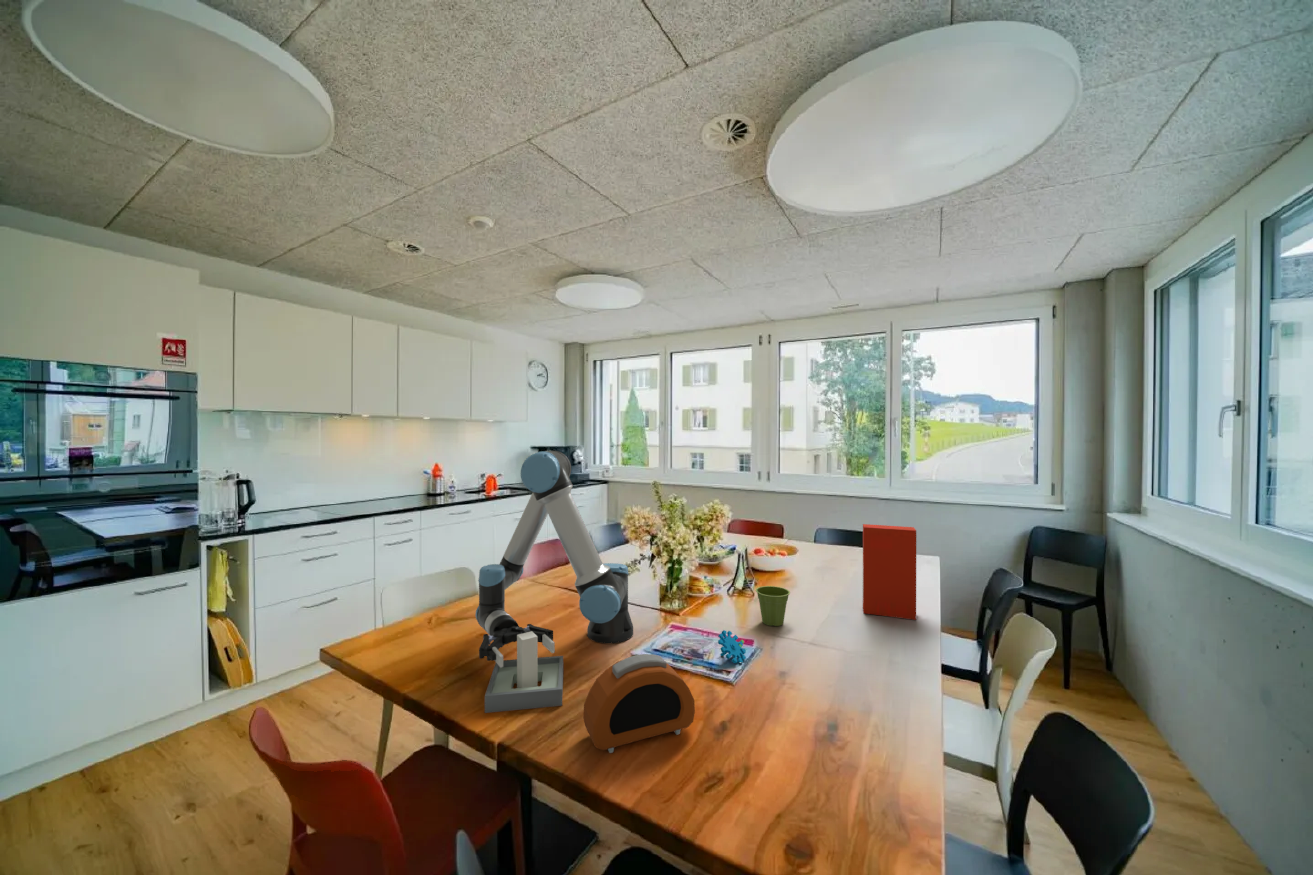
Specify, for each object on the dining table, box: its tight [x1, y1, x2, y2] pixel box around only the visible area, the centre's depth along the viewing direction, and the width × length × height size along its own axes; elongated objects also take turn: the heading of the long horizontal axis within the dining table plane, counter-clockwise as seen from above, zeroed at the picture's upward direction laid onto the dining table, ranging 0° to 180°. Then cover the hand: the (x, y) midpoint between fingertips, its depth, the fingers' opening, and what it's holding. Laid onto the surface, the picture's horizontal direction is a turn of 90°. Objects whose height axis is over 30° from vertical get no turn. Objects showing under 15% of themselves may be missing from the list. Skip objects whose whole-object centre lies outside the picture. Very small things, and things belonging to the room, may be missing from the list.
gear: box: [717, 629, 747, 664], centre depth 142 cm, size 11×6×10 cm
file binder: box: [862, 523, 917, 621], centre depth 178 cm, size 8×17×32 cm, turn 69°
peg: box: [516, 631, 539, 688], centre depth 124 cm, size 4×4×14 cm
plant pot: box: [755, 585, 791, 627], centre depth 169 cm, size 12×12×11 cm
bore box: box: [484, 655, 564, 714], centre depth 124 cm, size 18×18×4 cm
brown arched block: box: [582, 653, 696, 754], centre depth 106 cm, size 23×9×17 cm, turn 114°
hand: (528, 654), depth 123 cm, fingers open, 13 cm apart
